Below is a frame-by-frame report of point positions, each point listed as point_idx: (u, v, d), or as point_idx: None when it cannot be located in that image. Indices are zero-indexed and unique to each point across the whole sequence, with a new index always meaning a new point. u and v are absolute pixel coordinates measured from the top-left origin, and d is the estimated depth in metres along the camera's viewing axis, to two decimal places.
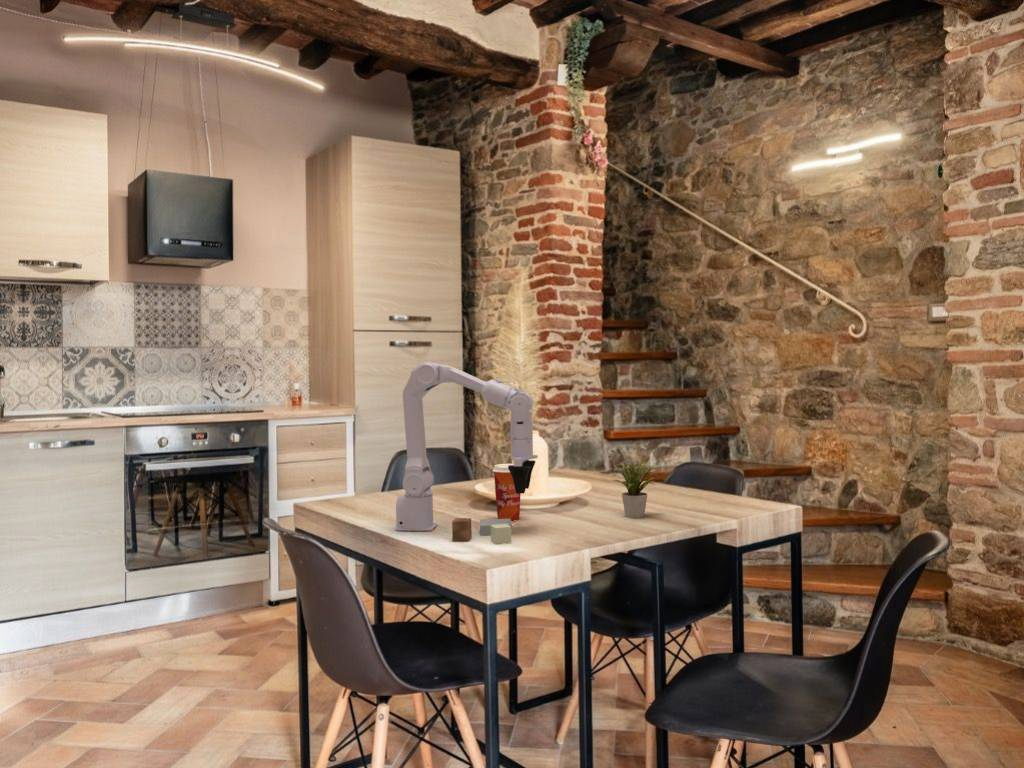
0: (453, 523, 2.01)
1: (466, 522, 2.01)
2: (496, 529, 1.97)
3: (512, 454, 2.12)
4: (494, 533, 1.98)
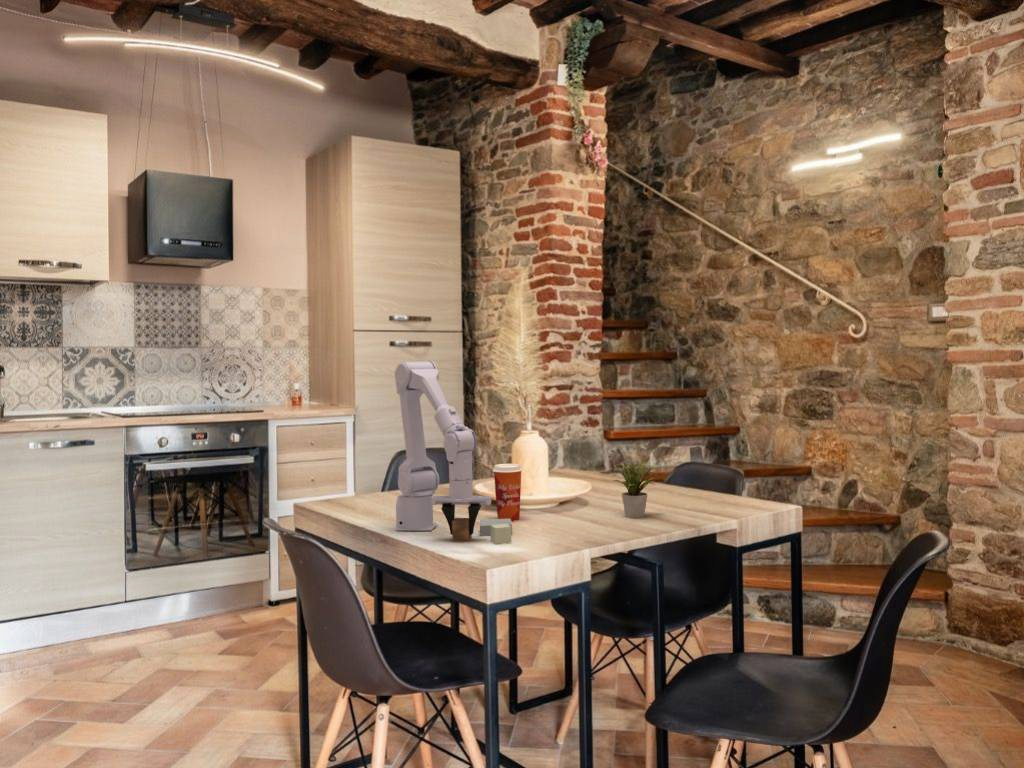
0: (453, 523, 2.01)
1: (466, 522, 2.01)
2: (496, 529, 1.97)
3: None
4: (494, 533, 1.98)
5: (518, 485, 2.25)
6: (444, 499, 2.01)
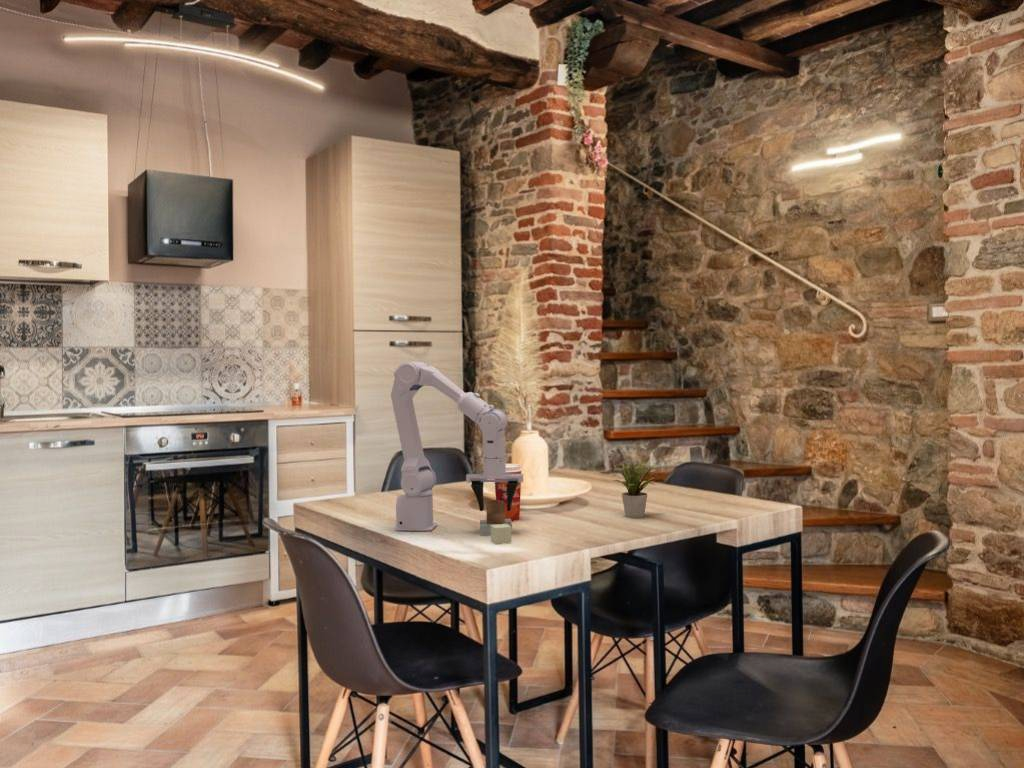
0: (487, 506, 2.09)
1: (500, 505, 2.08)
2: (496, 529, 1.97)
3: None
4: (494, 533, 1.98)
5: (518, 485, 2.25)
6: (478, 477, 2.09)
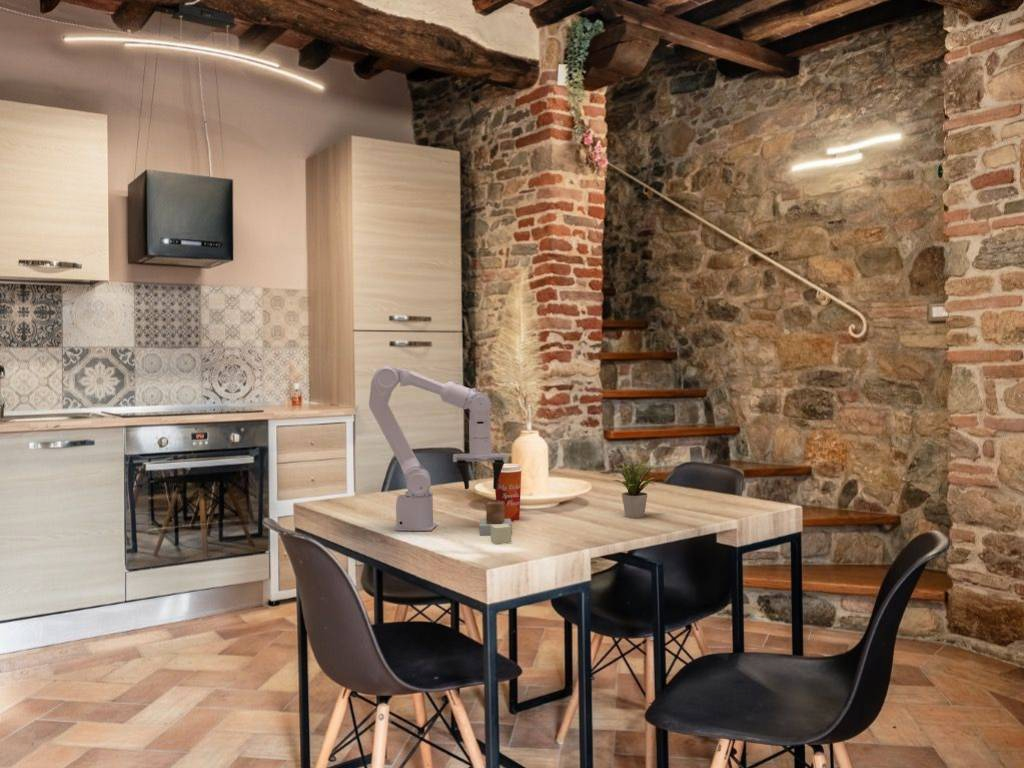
0: (487, 506, 2.09)
1: (500, 505, 2.09)
2: (496, 529, 1.97)
3: None
4: (494, 533, 1.98)
5: (518, 485, 2.25)
6: (465, 456, 2.18)
